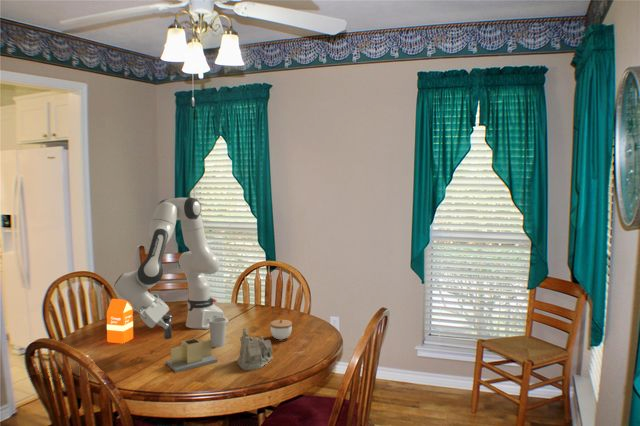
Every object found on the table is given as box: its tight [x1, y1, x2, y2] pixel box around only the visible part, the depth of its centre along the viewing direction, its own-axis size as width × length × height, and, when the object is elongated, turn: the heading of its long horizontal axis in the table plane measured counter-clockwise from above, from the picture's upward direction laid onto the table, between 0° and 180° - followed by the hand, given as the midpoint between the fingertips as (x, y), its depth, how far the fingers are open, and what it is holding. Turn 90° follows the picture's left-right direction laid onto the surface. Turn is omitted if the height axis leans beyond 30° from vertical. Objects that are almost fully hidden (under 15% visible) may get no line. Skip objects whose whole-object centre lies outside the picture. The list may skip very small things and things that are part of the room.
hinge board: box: [165, 355, 218, 373], centre depth 194 cm, size 18×11×1 cm, turn 128°
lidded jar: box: [269, 319, 293, 340], centre depth 225 cm, size 11×11×9 cm
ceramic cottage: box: [236, 327, 274, 371], centre depth 196 cm, size 16×16×15 cm
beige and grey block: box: [170, 337, 213, 365], centre depth 193 cm, size 18×7×8 cm, turn 128°
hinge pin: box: [162, 313, 173, 340], centre depth 200 cm, size 4×4×10 cm
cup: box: [209, 317, 227, 348], centre depth 215 cm, size 8×8×12 cm
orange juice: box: [106, 298, 134, 344], centre depth 219 cm, size 8×9×20 cm
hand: (169, 325), depth 200 cm, fingers closed on hinge pin, 3 cm apart
